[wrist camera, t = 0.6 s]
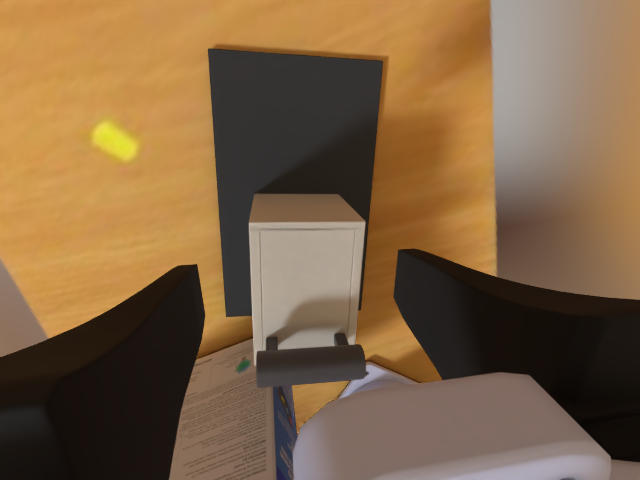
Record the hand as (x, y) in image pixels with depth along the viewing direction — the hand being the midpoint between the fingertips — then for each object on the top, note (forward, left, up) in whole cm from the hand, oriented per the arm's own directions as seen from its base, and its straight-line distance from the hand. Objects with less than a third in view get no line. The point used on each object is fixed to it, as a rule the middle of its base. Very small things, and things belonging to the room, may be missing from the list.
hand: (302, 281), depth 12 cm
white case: (-2, -2, -11) cm, 11 cm away
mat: (+1, 0, -11) cm, 11 cm away
